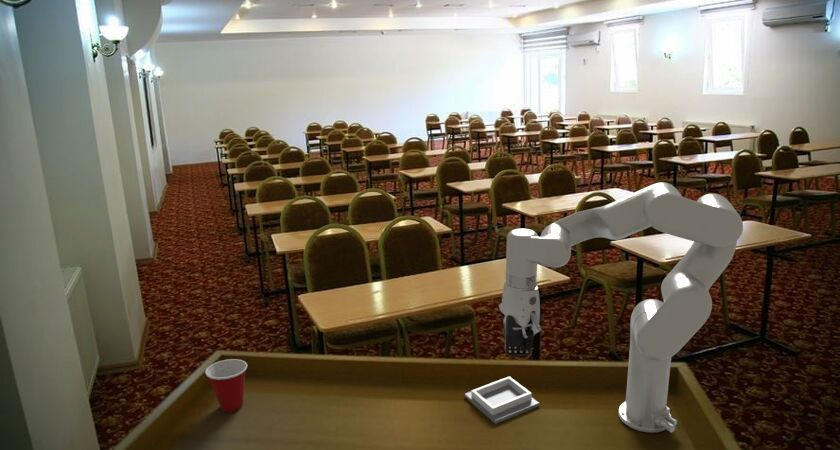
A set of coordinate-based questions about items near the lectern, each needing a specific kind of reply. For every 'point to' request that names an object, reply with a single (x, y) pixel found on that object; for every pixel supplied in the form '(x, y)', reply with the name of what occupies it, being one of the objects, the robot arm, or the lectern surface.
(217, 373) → the plastic cup
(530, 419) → the lectern surface
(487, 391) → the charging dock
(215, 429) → the lectern surface
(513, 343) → the battery charger
